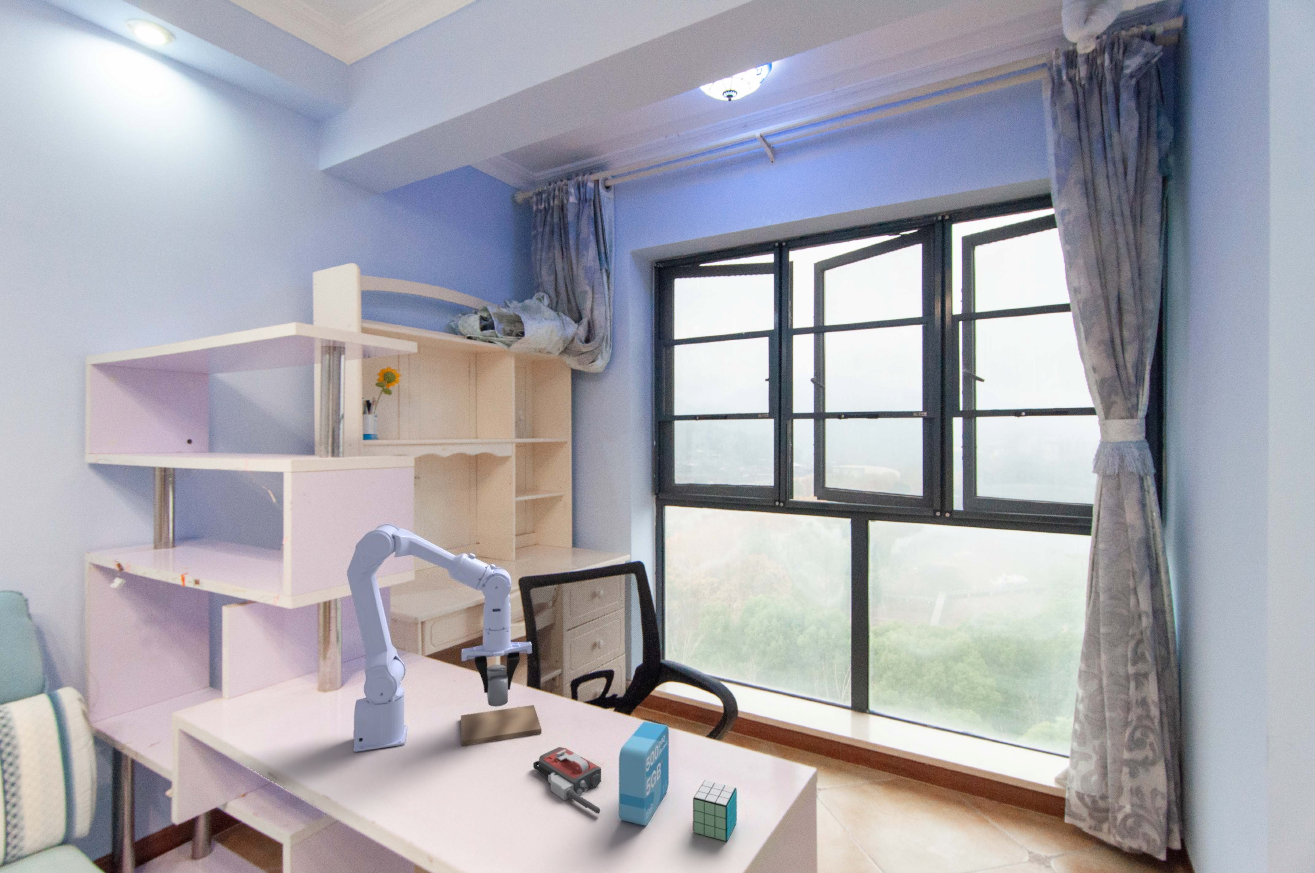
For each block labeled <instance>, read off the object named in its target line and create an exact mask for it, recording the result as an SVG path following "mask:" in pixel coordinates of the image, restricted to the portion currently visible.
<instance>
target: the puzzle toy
mask: <svg viewBox="0 0 1315 873" xmlns="http://www.w3.org/2000/svg"><path fill="white" fill-rule="evenodd" d="M737 790H738V789H737V787H735V786H732V785H729V784H727V785H726V784H723V783H718V782H715V781H711V780H707V779H705V780H704V781H703V782H702V783H701V785H700V786H699V788H698V790H697V791H696V793H695V794H694V796H693V798H692V832H693V833H695V834H699V835H701V836H704V837H709V838H712V839H716V840H719V841H723V842H727V841H728V840H729V838H730V836H731V834H732V832H733V830H734V827H735V826H736V823H737V822H738V819H737V818H738V817H737V816H738V815H737V812H738V810H737V809H738V800H737V799H738V798H737V797H738V796H737V795H738V794H737V792H738V791H737Z"/></svg>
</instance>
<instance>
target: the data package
mask: <svg viewBox="0 0 1315 873" xmlns="http://www.w3.org/2000/svg"><path fill="white" fill-rule="evenodd" d="M669 730H670V729H669V727H668V725H666V724H661V723H660V724H659V723H655V722H649V721H642V723H641V724H640V725H639V726H638V727H637V728H636V729H635V731H634V732H633V734H631V735H630V737H629V738H628V739H627V741H625V743H624V744H623V745H622V746H621V748H620V751H619V755H618V818H619V819H620V820H621V821H624V822H629V823H633V824H637V825H640V826H647V825H648V823H649V822H650V820H651V819H652V817H653V816H654V813H655V812H656V811H657V809H658V807H659V806H660V804H661V802H662V800H663V799H664V798H665V797H666V794H667V792H668V790H669V789H668V788H669V784H670V783H669V782H670V781H669V778H670V777H669V773H670V772H669V770H670V768H669V766H670V764H669V762H670V761H669V760H670V758H669V754H670V753H669V752H670V749H669V748H670V745H669V744H670V743H669V741H670V740H669V739H670V738H669V736H670V733H669V732H670V731H669Z"/></svg>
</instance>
